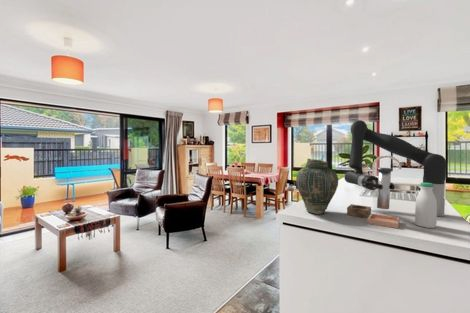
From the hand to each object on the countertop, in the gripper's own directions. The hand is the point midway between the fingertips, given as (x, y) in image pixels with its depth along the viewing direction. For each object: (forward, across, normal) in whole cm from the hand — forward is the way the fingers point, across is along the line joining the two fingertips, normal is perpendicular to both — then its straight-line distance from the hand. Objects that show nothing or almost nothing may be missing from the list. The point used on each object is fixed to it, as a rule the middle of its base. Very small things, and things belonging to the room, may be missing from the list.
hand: (387, 187), depth 111 cm
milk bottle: (+1, +17, +18) cm, 25 cm away
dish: (-2, 0, +18) cm, 18 cm away
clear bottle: (-3, 0, +10) cm, 11 cm away
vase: (-20, -27, +18) cm, 38 cm away
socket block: (-17, -4, +18) cm, 25 cm away
